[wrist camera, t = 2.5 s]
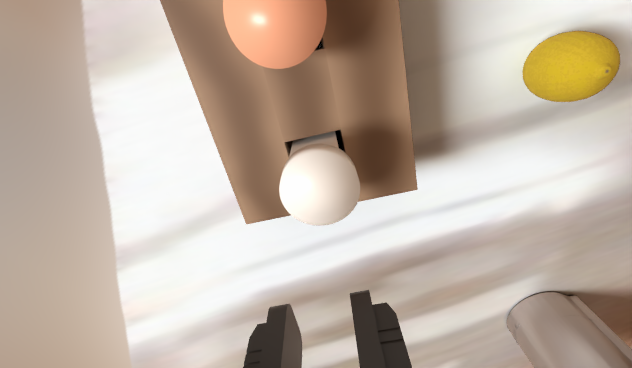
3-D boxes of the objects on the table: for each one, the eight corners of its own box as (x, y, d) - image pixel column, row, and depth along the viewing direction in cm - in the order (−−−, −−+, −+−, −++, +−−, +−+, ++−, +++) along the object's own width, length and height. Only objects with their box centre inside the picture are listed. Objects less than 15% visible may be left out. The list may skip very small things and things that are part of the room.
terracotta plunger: (314, -28, 23) (313, -64, 15) (329, 51, 25) (336, 55, 17) (242, -8, 23) (207, -33, 16) (264, 68, 26) (242, 78, 18)
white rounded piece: (341, 115, 27) (352, 144, 20) (352, 171, 30) (366, 217, 22) (281, 129, 28) (269, 162, 20) (297, 183, 30) (291, 231, 22)
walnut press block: (370, -59, 25) (389, -93, 19) (397, 161, 33) (417, 189, 27) (189, -8, 27) (151, -24, 20) (258, 191, 35) (246, 224, 29)
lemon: (577, 55, 29) (665, 59, 22) (531, 104, 31) (597, 123, 24) (538, 19, 28) (618, 11, 20) (493, 73, 30) (550, 83, 22)
